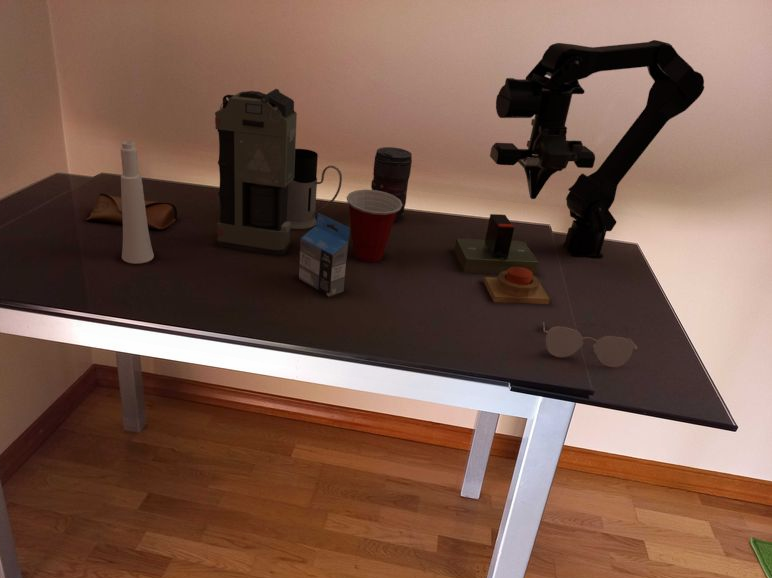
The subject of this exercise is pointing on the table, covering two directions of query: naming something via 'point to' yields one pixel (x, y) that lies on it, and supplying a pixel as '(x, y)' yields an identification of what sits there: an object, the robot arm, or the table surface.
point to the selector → (499, 235)
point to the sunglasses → (606, 348)
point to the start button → (519, 275)
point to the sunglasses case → (111, 212)
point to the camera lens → (392, 173)
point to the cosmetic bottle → (133, 209)
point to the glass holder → (305, 190)
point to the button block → (515, 290)
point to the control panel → (492, 257)
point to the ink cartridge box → (324, 256)
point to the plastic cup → (371, 222)
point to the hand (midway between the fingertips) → (532, 198)
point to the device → (255, 170)
